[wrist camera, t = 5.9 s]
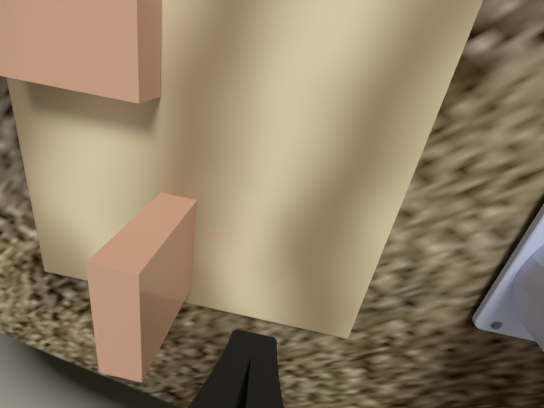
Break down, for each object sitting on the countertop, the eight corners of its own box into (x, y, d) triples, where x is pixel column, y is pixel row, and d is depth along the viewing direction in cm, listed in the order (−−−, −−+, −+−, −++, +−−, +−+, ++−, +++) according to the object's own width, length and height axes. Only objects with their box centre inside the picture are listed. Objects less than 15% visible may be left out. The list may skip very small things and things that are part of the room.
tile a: (135, -96, 8) (-50, -129, 8) (139, 103, 10) (-7, 74, 11) (162, -74, 10) (5, -102, 10) (161, 96, 12) (33, 71, 12)
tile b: (196, 200, 14) (138, 274, 9) (190, 288, 16) (142, 382, 11) (159, 192, 14) (83, 261, 9) (158, 281, 16) (97, 371, 12)
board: (479, -44, 10) (506, -59, 9) (344, 314, 17) (347, 338, 16) (7, -127, 11) (-40, -154, 9) (66, 253, 18) (44, 271, 17)
